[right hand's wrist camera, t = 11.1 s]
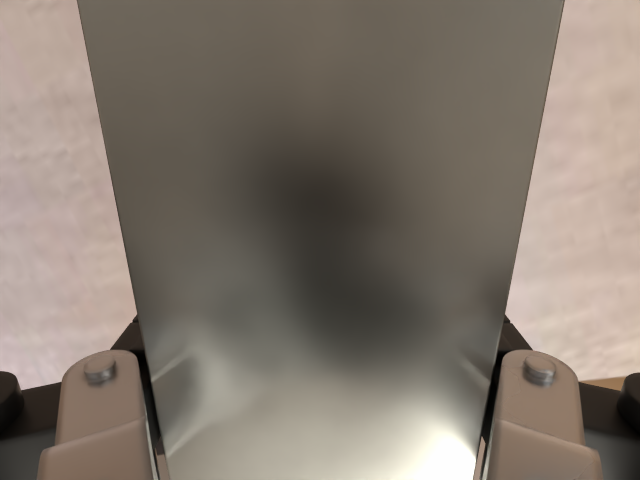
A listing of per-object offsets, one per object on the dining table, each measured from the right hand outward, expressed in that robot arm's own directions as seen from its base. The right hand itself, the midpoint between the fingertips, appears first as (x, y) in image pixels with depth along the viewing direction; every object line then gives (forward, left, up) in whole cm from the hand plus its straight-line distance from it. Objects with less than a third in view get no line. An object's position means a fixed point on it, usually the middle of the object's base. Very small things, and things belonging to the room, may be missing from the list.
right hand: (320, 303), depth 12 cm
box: (+6, +7, -6) cm, 11 cm away
